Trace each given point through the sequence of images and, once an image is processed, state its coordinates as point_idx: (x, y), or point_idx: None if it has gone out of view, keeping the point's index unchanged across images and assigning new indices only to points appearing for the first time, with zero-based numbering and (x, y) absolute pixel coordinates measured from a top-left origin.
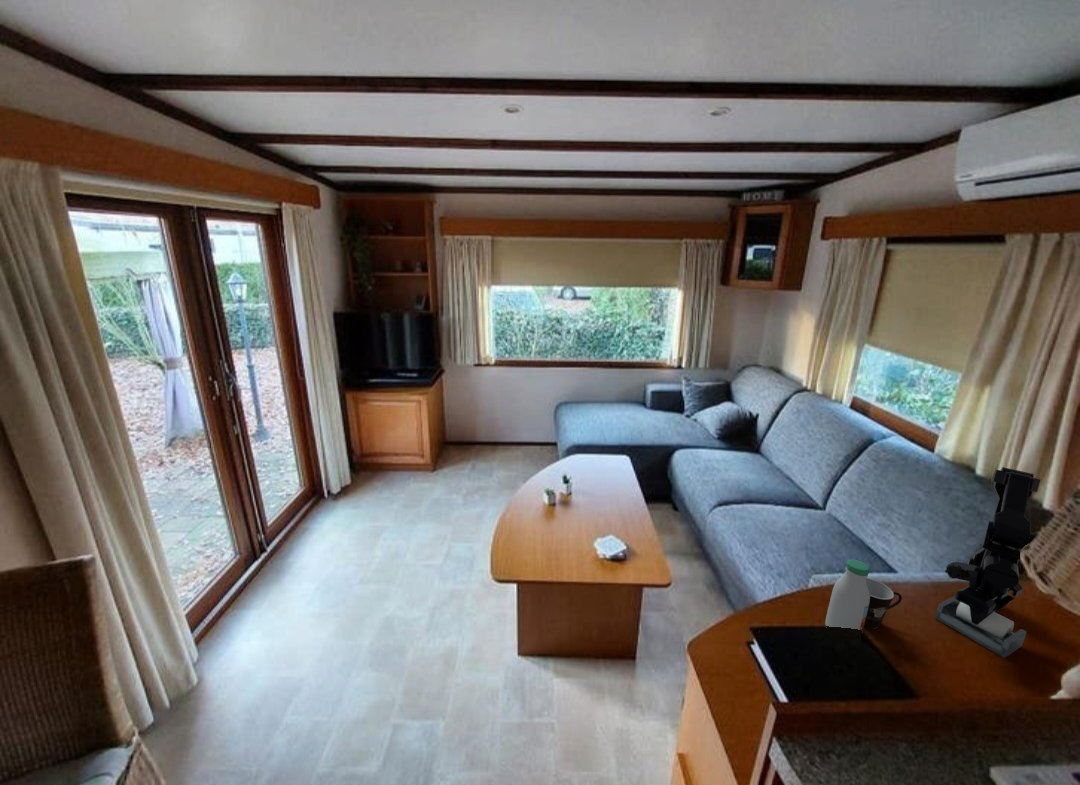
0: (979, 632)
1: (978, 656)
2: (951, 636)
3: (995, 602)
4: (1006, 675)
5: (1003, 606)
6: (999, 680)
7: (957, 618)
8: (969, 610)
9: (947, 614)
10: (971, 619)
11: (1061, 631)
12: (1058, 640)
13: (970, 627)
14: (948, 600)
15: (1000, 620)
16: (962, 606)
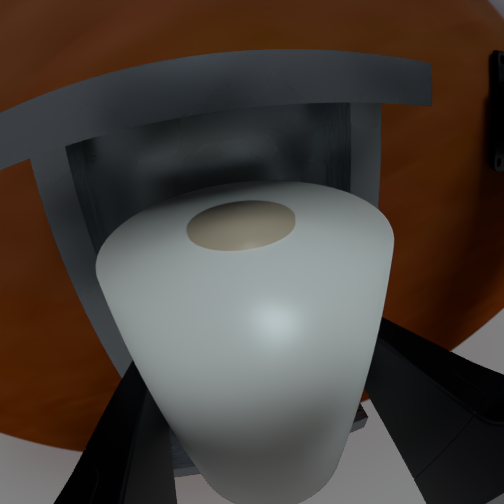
0: None
1: (49, 378)
2: (16, 272)
3: (433, 458)
4: (82, 431)
5: (414, 476)
6: (41, 431)
7: (201, 177)
8: (152, 385)
9: (68, 179)
10: (128, 369)
11: (501, 300)
12: (461, 330)
13: (120, 333)
14: (207, 72)
15: (247, 497)
16: (128, 332)
